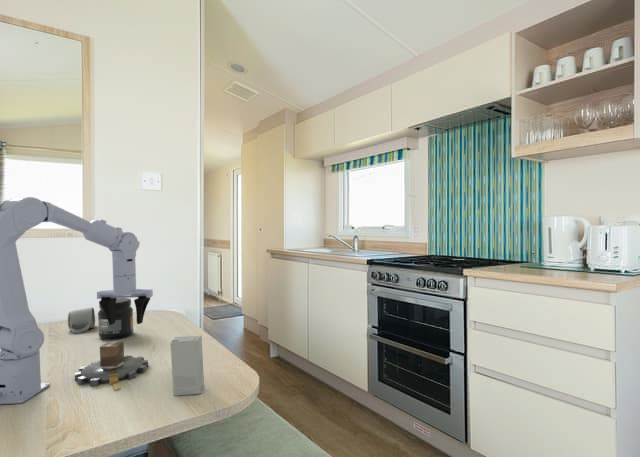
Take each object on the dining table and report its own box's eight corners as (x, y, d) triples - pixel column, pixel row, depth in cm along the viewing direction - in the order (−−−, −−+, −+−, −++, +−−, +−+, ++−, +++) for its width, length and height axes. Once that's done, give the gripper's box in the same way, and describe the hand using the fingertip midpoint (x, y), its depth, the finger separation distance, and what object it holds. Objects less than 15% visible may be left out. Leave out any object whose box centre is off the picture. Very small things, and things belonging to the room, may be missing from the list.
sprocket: (161, 367, 103) (161, 350, 103) (99, 391, 89) (98, 371, 89) (124, 357, 111) (123, 341, 111) (61, 377, 97) (61, 359, 97)
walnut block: (116, 366, 98) (116, 345, 98) (100, 366, 98) (99, 346, 98) (124, 360, 102) (123, 340, 102) (108, 360, 102) (108, 341, 102)
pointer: (120, 389, 90) (120, 388, 90) (114, 390, 89) (114, 389, 89) (118, 384, 93) (118, 382, 93) (113, 385, 92) (113, 384, 92)
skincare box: (204, 386, 90) (203, 334, 90) (200, 395, 86) (199, 340, 86) (177, 388, 90) (175, 335, 90) (171, 397, 85) (170, 341, 85)
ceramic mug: (71, 327, 144) (70, 307, 144) (95, 325, 148) (94, 305, 147) (66, 335, 135) (65, 314, 135) (92, 332, 138) (91, 311, 138)
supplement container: (134, 330, 140) (133, 296, 139) (132, 338, 130) (131, 302, 130) (101, 333, 136) (100, 299, 135) (96, 342, 126) (94, 305, 126)
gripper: (156, 272, 114) (157, 319, 114) (105, 273, 113) (107, 320, 114) (146, 276, 107) (147, 325, 107) (92, 277, 106) (93, 327, 107)
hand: (126, 323), depth 110 cm, fingers open, 7 cm apart
